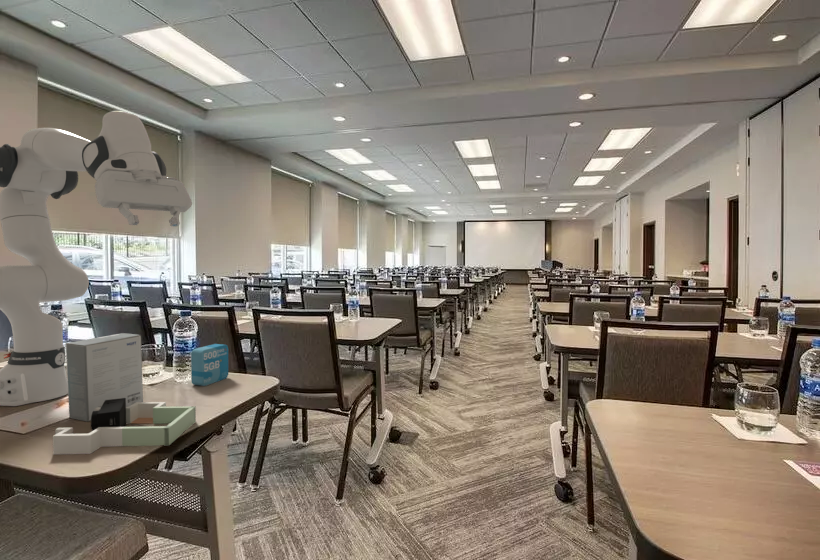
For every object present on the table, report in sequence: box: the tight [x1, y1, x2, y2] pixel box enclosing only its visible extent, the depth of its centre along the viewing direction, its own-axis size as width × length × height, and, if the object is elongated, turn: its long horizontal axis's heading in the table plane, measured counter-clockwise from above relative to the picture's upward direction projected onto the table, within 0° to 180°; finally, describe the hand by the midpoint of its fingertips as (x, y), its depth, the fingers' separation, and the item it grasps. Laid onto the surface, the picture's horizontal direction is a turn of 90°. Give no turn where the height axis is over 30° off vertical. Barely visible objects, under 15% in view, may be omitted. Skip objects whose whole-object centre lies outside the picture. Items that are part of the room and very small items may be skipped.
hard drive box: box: [65, 332, 144, 422], centre depth 116 cm, size 16×8×20 cm, turn 159°
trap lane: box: [52, 401, 197, 455], centre depth 102 cm, size 24×21×4 cm
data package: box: [190, 343, 229, 387], centre depth 144 cm, size 12×4×12 cm, turn 161°
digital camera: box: [90, 398, 127, 432], centre depth 101 cm, size 10×5×7 cm, turn 27°
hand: (155, 224), depth 101 cm, fingers open, 8 cm apart
